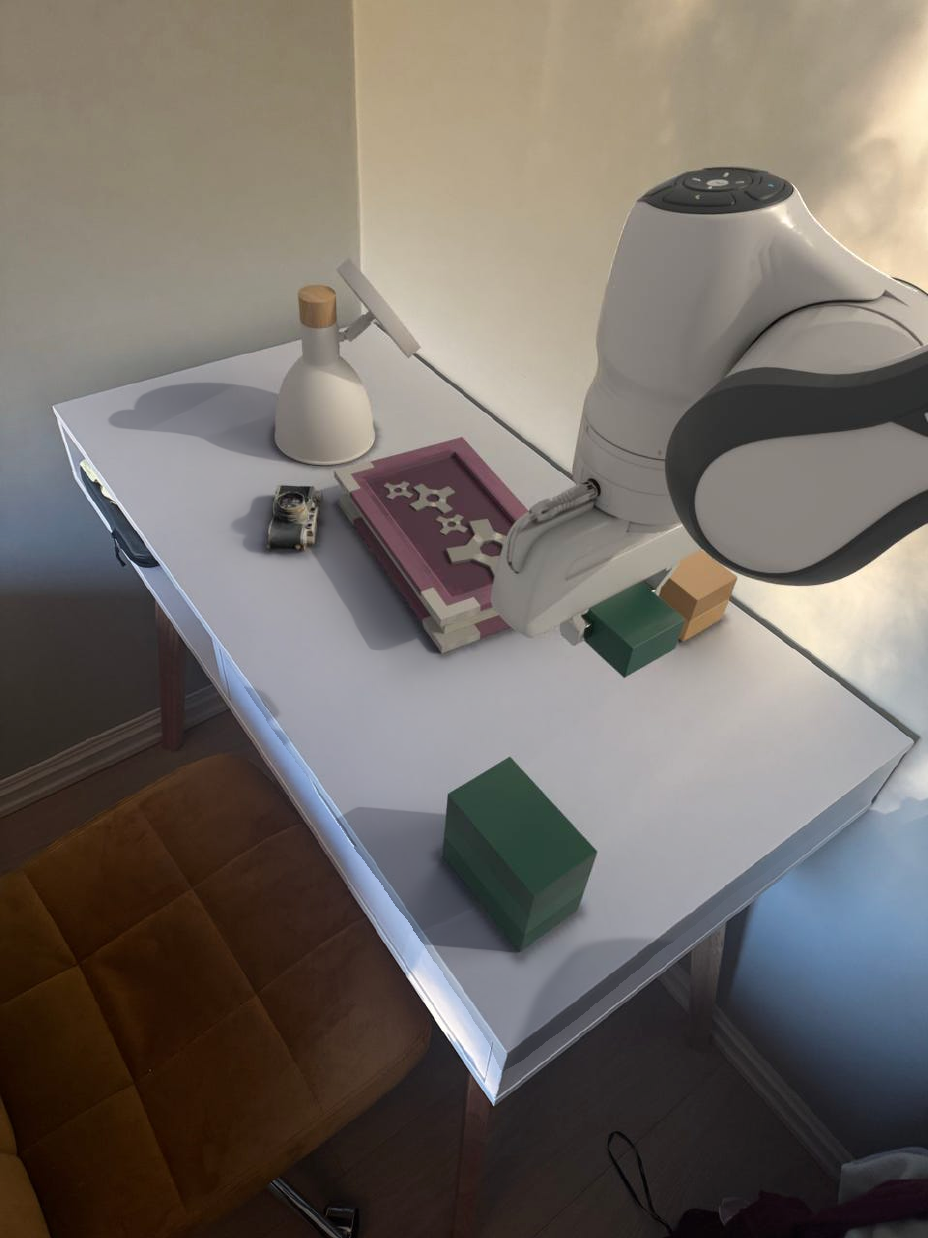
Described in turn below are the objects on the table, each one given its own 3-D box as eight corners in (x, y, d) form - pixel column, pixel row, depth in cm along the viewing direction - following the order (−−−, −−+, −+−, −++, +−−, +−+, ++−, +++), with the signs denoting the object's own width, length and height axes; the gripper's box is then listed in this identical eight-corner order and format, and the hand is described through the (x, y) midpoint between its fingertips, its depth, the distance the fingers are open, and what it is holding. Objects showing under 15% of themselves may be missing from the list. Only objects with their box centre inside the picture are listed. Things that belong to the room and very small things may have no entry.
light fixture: (295, 449, 120) (189, 354, 104) (414, 342, 117) (324, 228, 101) (330, 505, 112) (222, 412, 96) (458, 393, 110) (369, 278, 94)
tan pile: (722, 618, 95) (738, 577, 90) (682, 642, 92) (697, 600, 88) (654, 564, 100) (666, 522, 96) (614, 585, 97) (625, 542, 93)
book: (335, 505, 103) (333, 469, 100) (459, 470, 109) (461, 435, 106) (438, 655, 89) (440, 619, 85) (575, 605, 95) (582, 570, 91)
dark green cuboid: (675, 648, 63) (686, 618, 61) (624, 678, 61) (632, 648, 59) (590, 574, 68) (596, 544, 66) (539, 599, 66) (544, 569, 64)
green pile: (578, 909, 71) (597, 851, 65) (519, 953, 68) (533, 896, 62) (499, 818, 76) (510, 756, 70) (441, 855, 74) (447, 793, 67)
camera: (324, 496, 104) (322, 467, 101) (312, 557, 97) (310, 527, 94) (279, 494, 104) (276, 464, 101) (265, 554, 97) (261, 524, 94)
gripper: (550, 548, 48) (522, 711, 58) (798, 433, 57) (737, 590, 67) (478, 486, 51) (464, 650, 61) (723, 386, 60) (676, 542, 70)
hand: (608, 618), depth 64 cm, fingers closed on dark green cuboid, 5 cm apart
